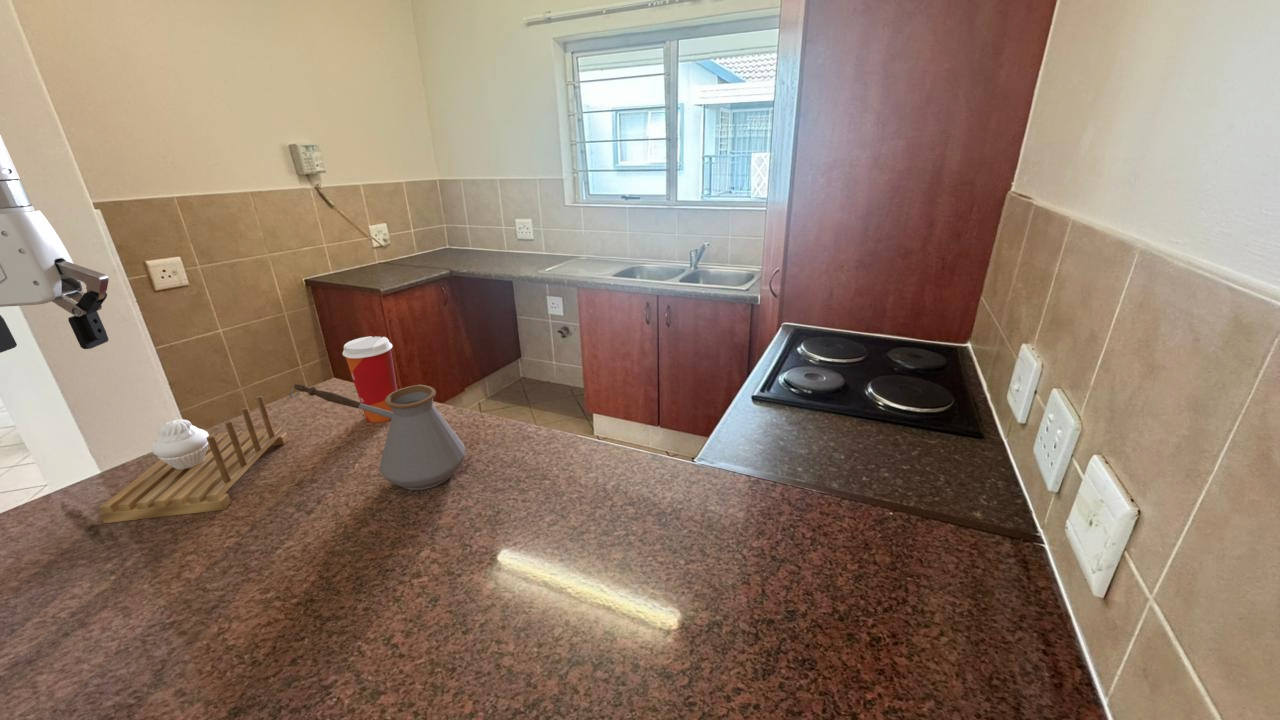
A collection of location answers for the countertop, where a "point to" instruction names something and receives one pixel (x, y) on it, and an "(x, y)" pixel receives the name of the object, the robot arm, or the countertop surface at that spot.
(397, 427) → the coffee pot
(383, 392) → the paper cup
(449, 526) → the countertop surface
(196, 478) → the rack
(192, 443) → the muffin
